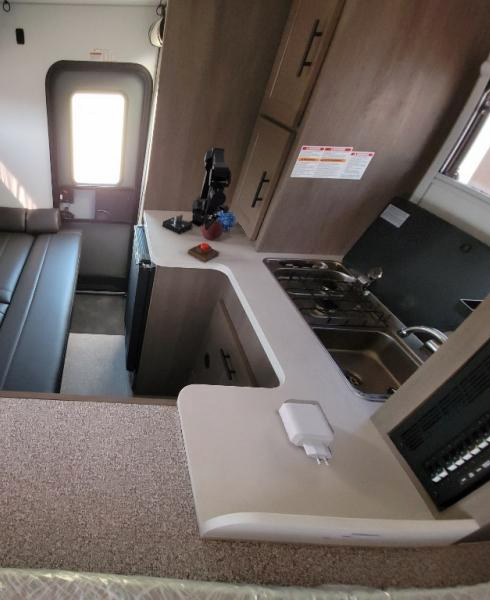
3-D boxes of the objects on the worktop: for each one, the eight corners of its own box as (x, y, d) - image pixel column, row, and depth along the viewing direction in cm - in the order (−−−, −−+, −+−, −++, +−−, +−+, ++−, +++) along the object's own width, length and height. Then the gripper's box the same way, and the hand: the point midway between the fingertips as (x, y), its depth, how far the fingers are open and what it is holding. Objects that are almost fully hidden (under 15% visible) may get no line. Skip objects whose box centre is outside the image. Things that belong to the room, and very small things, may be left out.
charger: (299, 468, 78) (277, 412, 89) (339, 471, 77) (312, 415, 89) (307, 458, 75) (283, 402, 87) (349, 462, 74) (320, 404, 86)
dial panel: (174, 221, 184) (175, 216, 182) (191, 229, 177) (192, 223, 175) (162, 226, 180) (163, 220, 178) (178, 234, 172) (179, 228, 170)
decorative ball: (198, 234, 173) (202, 216, 166) (217, 234, 172) (222, 216, 166) (202, 243, 165) (206, 224, 159) (222, 243, 164) (227, 225, 158)
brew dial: (179, 220, 178) (180, 213, 175) (181, 221, 177) (182, 214, 175) (173, 223, 176) (174, 215, 173) (175, 224, 175) (176, 216, 172)
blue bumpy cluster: (213, 234, 172) (218, 213, 165) (209, 228, 178) (215, 207, 170) (235, 235, 172) (241, 213, 165) (231, 229, 177) (237, 208, 170)
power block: (201, 247, 161) (202, 240, 159) (218, 255, 155) (220, 248, 153) (187, 253, 156) (189, 246, 154) (204, 262, 150) (206, 255, 148)
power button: (203, 245, 155) (204, 242, 154) (209, 248, 153) (210, 245, 152) (198, 247, 154) (199, 244, 153) (205, 250, 152) (205, 247, 150)
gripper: (212, 186, 150) (205, 218, 160) (185, 196, 141) (179, 229, 151) (233, 194, 143) (224, 226, 153) (206, 204, 134) (199, 238, 144)
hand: (206, 229), depth 150 cm, fingers closed
